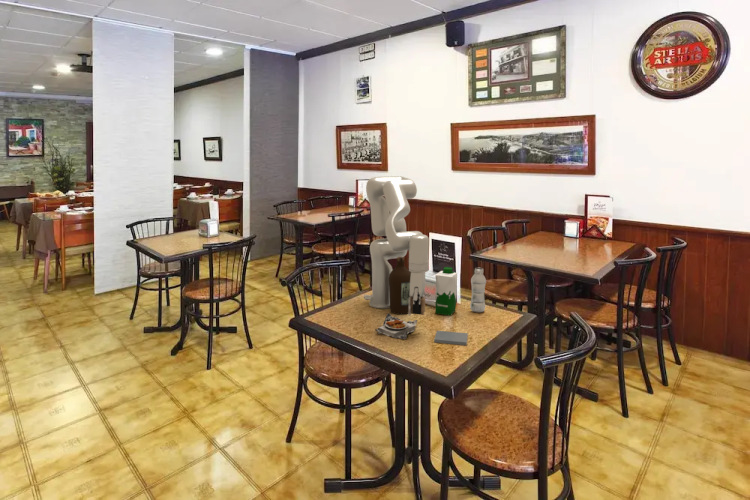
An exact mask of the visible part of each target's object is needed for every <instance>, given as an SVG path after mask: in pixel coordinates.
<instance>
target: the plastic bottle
mask: <svg viewBox="0 0 750 500" xmlns="http://www.w3.org/2000/svg"><path fill="white" fill-rule="evenodd" d="M473 273H474V274H473V275H472V277H471V279H470V283H471V297H470V298H471V300H470V303H469V304H470V305H469V306H470V311H471V312H474V313H483V312H485V309H486V303H485V288H486V284H487V279H486V277H485V275H484V268H482V267H475V268H474V272H473Z"/></svg>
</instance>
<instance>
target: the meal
mask: <svg viewBox="0 0 750 500" xmlns="http://www.w3.org/2000/svg"><path fill="white" fill-rule="evenodd" d="M417 324H418V319H415V320H408V321H405V320H401V319H400V318H399V317H397V316H392V314H391V313H387V314H386V317H385V319H384V321H383V324H382V325H381V326H378V328H377V329H374V330H375V332H377V334H380V335H381V334H383V335H385V336H386V337H392V338H393V339H394V338H395V339H397V338H398V339H402V340H406V339H407V338H408V334H410V333H413V332H414V331H415V330H416V325H417Z"/></svg>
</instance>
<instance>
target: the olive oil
mask: <svg viewBox="0 0 750 500" xmlns="http://www.w3.org/2000/svg"><path fill="white" fill-rule="evenodd" d="M410 276H411V271H409V268H407V266H406V265H405V256H404V257H397V258H396V266H395V267H394V268H392V271H391V273H390V275H389V294H390V308H389V311H390V313H391V314H395V315H407V314H408V310H409V297H410V296H409V294H410Z"/></svg>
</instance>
